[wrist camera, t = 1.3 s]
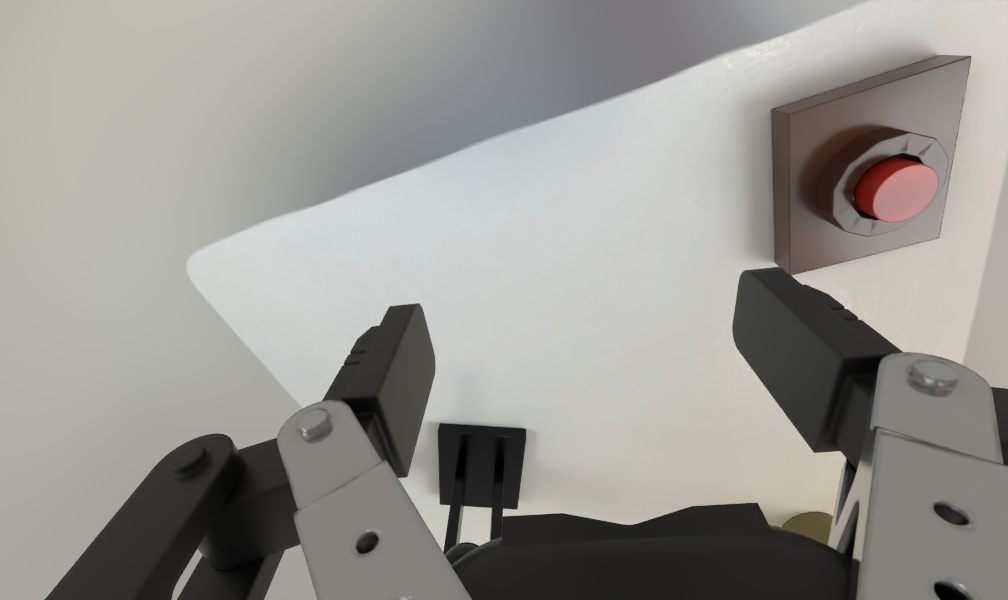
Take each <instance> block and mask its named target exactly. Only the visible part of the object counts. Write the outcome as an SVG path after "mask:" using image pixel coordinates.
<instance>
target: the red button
mask: <svg viewBox="0 0 1008 600" xmlns="http://www.w3.org/2000/svg"><path fill="white" fill-rule="evenodd" d="M938 184H939V180H938V175H937V173H936V172H935V170H934V169H933V168H931V167H929V166H927V165H924V164H921V163H917V162H914V161H911V160H907V159H904V158H892V159H887V160H884V161H882V162H880V163H878V164H876V165H875V166H873V167H872V168H870V169H869V170H868V171H867V172H866V173H865V174H864V175H863V176H862V177H861V179H860V180H859V182H858V184H857V186H856V189H855V193H854V200H855V203H856V205H857V207H858V208H859V209H860V210H861V211H863V212H865V213H867V214H869V215H871V216H873V217H875V218H877V219H879V220H881V221H884V222H900V221H903V220H906V219H909V218H911V217H913V216H915V215H916V214H918V213H919V212H921V211H922V210H923V209H924V208H925V207H926V206H927V205H928V204H929V203H930V202H931V201H932V199H933V198H934V196H935V194H936V192H937V189H938Z"/></svg>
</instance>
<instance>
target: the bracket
mask: <svg viewBox="0 0 1008 600" xmlns="http://www.w3.org/2000/svg"><path fill="white" fill-rule="evenodd" d="M525 443H526V429H516V428H501V427H485V426H470V425H454V424H440V425H439V429H438V452H439V489H440V504H441V505H450V512H449V519H448V525H447V532H446V539H445V546H444V555H445V554H446V553H447V552H448V551H449V550H450V549H451V548H452V547H454V546H455V545H457V544H459V541H460V533H461V524H462V516H463V507H464V506H473V507H489V508H492V514H491V531H490V541H491V540H494V539H497V538H500V537H502V514H503V508H504V509H517V508H518V500H519V492H520V483H521V475H522V467H523V459H524V451H525Z"/></svg>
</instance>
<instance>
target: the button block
mask: <svg viewBox="0 0 1008 600" xmlns="http://www.w3.org/2000/svg"><path fill="white" fill-rule="evenodd" d="M970 62H971V56H952V55H939V56H936V57H933V58H930V59H927V60H924V61H921V62H918V63H914V64H911V65H908V66H905V67H902V68H899V69H896V70H893V71H890V72H886V73H883V74H880V75H877V76H874V77H871V78H868V79H865V80H862V81H859V82H855V83H852V84H849V85H846V86H843V87H840V88H837V89H834V90H831V91H828V92H824V93H821V94H818V95H815V96H812V97H809V98H806V99H803V100H800V101H796V102H793V103H790V104H787V105H784V106H781V107H778V108H775V109H772V145H773V186H774V227H775V263H776V264H777V265H778V266H779V267H780V268H782V269H783V270H784V271H786V272H787V273H788V274H789V275H795V274H798V273H802V272H806V271H810V270H814V269H818V268H822V267H826V266H830V265H834V264H838V263H842V262H846V261H850V260H854V259H858V258H862V257H866V256H870V255H874V254H878V253H882V252H885V251H889V250H893V249H897V248H901V247H905V246H909V245H913V244H917V243H921V242H925V241H929V240H933V239H937V238H939V235H940V229H941V224H942V218H943V212H944V207H945V201H946V196H947V190H948V185H949V179H950V173H951V168H952V162H953V157H954V151H955V145H956V140H957V134H958V129H959V123H960V118H961V112H962V106H963V101H964V95H965V90H966V84H967V78H968V73H969V67H970ZM892 158H904V159H907V160H911V161H914V162H917V163H921V164H924V165H927V166H929V167H931V168H933V169H934V170H935V172H936V173H937V175H938V180H939V184H938V189H937V192H936V194H935V196H934V198H933V199H932V201H931V202H930V203H929V204H928V205H927V206H926V207H925V208H924V209H923V210H922V211H921V212H919V213H918V214H916V215H915V216H913V217H911V218H909V219H906V220H903V221H900V222H884V221H881V220H879V219H877V218H875V217H873V216H871V215H869V214H867V213H865V212H863V211H861V210H860V209H859V208H858V207H857V205H856V203H855V200H854V193H855V189H856V186H857V184H858V182H859V180H860V179H861V177H862V176H863V175H864V174H865V173H866V172H867V171H868V170H869V169H870V168H872V167H873V166H875V165H876V164H878V163H880V162H882V161H884V160H887V159H892Z"/></svg>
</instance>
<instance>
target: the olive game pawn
mask: <svg viewBox="0 0 1008 600" xmlns="http://www.w3.org/2000/svg"><path fill="white" fill-rule="evenodd" d="M832 520H833V517H832V516H831V515H829V514H826V513H821V512H811V513H806V514H801V515H799V516H796V517H794V518H792V519H790V520H789V521H787V522H786V523H785V525H784V526H783V528H784V529H788V530H791V531H795V532H797V533H800V534H803V535H805V536H808V537H811V538H813V539H815V540H818V541H820V542H822V543H824V544H826V545H828V541H829V536H830V530H831V525H832Z"/></svg>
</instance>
